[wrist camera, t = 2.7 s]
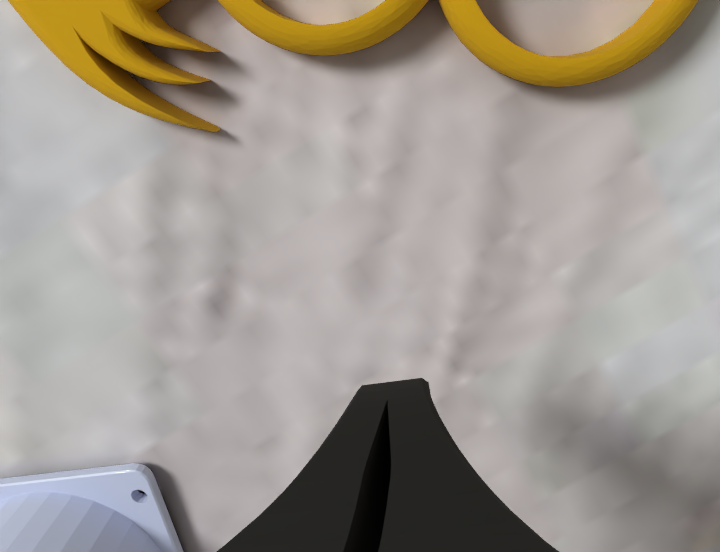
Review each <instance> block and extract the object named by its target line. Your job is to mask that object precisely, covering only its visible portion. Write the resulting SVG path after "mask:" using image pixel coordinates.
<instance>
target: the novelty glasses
mask: <svg viewBox="0 0 720 552" xmlns="http://www.w3.org/2000/svg"><path fill="white" fill-rule="evenodd" d="M8 1H9V2H10V4H11V5H12V6H13V7H14V9H15V10H16V11H17V12H18V13H19V15H20V16H21V17H22V18H23V20H24V21H25V22H26V23H27V24H28V26H29V27H30V28H31V29H32V31H33V32H34V33H35V34H36V35H37V36H38V37H39V38H40V39H41V41H42V42H43V43H44V44H45V45H46V46H47V47H48V48H49V49H50V50H51V51H52V52H53V53H54V54H55V55H56V56H57V57H58V58H59V59H60V60H61V61H62V62H63V63H64V64H65V65H66V66H67V67H68V68H69V69H70V70H71V71H72V72H74V73H75V74H76V75H77V76H79V77H80V78H81V79H82V80H83V81H85V82H86V83H87V84H89V85H90V86H92V87H93V88H95V89H96V90H98V91H99V92H101V93H102V94H104V95H105V96H107V97H108V98H110V99H112V100H114V101H116V102H118V103H120V104H122V105H124V106H126V107H128V108H130V109H133V110H135V111H137V112H140V113H143V114H145V115H148V116H151V117H154V118H157V119H160V120H163V121H167V122H171V123H175V124H179V125H183V126H187V127H191V128H196V129H202V130H207V131H212V132H217V131H219V130H221V129H220V128H219V127H217V126H215V125H213V124H211V123H209V122H206V121H204V120H202V119H200V118H198V117H196V116H194V115H192V114H190V113H188V112H186V111H184V110H182V109H180V108H178V107H176V106H174V105H172V104H171V103H169V102H167V101H166V100H164V99H162V98H160V97H159V96H157V95H155V94H154V93H152V92H151V91H149V90H148V89H147V88H145V87H144V86H142V85H141V84H140V83H138V82H137V81H136V80H134V79H133V78H132V77H131V76H130V75H129V74H128V73H127V72H126V71H128V72H131V73H133V74H135V75H137V76H139V77H142V78H145V79H149V80H152V81H155V82H161V83H166V84H178V85H183V84H196V83H201V82H205V81H210V79H206V78H203V77H200V76H197V75H194V74H192V73H189V72H186V71H183V70H181V69H178V68H176V67H174V66H172V65H170V64H168V63H166V62H164V61H163V60H161V59H159V58H158V57H156V56H155V55H154V54H153V53H151V52H150V51H149V50H148V49H147V48H146V47H145V46H144V44H143V43H142V41H141V40H143V41H145V42H148V43H151V44H154V45H158V46H163V47H168V48H175V49H185V50H195V51H204V52H217V51H219V50H217V49H215V48H213V47H211V46H209V45H207V44H205V43H203V42H201V41H198V40H196V39H194V38H192V37H190V36H187V35H185V34H183V33H181V32H179V31H177V30H175V29H173V28H172V27H170V26H169V25H168V24H166V23H165V22H164V21H163V19H162V18H161V17H160V15H159V13H158V12H157V9H159V8H161V7H162V6H164V5H165V4H166V3H167V2H169V1H170V0H8ZM218 1H219V2H220V4H221V5H222V6H223V7H224V8H225V9H226V10H227V11H228V12H229V14H230V15H231V16H232V17H234V18H235V19H236V20H237V21H238V22H239V23H240V24H241V25H242V26H244V27H245V28H246V29H248V30H249V31H250V32H252V33H253V34H255V35H256V36H258V37H260V38H261V39H263V40H265V41H267V42H269V43H271V44H273V45H276V46H278V47H281V48H283V49H286V50H290V51H293V52H297V53H302V54H309V55H322V56H325V55H339V54H345V53H351V52H355V51H358V50H362V49H365V48H367V47H370V46H372V45H375V44H377V43H379V42H381V41H383V40H385V39H386V38H388V37H389V36H391V35H392V34H394V33H396V32H397V31H399V30H400V29H401V28H403V27H404V26H405V25H406V24H407V23H408V22H409V21H411V20H412V19H413V18H414V17H415V16H416V15H417V14H418V12H419V11H420V10H421V9H422V8H423V7H424V6H425V4H426V3H427V2H428V0H385V1H384V2H383V3H381V4H380V5H379V6H377V7H376V8H375V9H373V10H371V11H369V12H367V13H366V14H364V15H362V16H360V17H358V18H355V19H352V20H349V21H346V22H341V23H337V24H328V25H312V24H306V23H302V22H298V21H296V20H293V19H291V18H288V17H286V16H283V15H281V14H280V13H278V12H277V11H275V10H274V9H272V8H271V7H269V6H267V5H266V4H265V3H264V2H263V1H262V0H218ZM438 1H439V3H440V6H441V8H442V11H443V13H444V15H445V17H446V19H447V21H448V23H449V25H450V27H451V28H452V29H453V31H454V32H455V34H456V35H457V37H458V38H459V39H460V41H461V42H462V43H463V44H464V45H465V46H466V47H467V49H468V50H469V51H470V52H471V53H472V54H473V55H475V56H476V57H477V58H478V59H479V60H480V61H482V62H483V63H485V64H486V65H488V66H489V67H491V68H492V69H494V70H496V71H498V72H499V73H501V74H504V75H506V76H508V77H511V78H513V79H516V80H519V81H523V82H526V83H530V84H534V85H541V86H553V87H562V86H574V85H582V84H587V83H591V82H595V81H598V80H602V79H605V78H607V77H610V76H612V75H615V74H617V73H619V72H621V71H623V70H625V69H627V68H629V67H631V66H633V65H634V64H636V63H637V62H639V61H640V60H642V59H643V58H645V57H647V56H648V55H649V54H651V53H652V52H653V51H654V50H655V49H657V48H658V47H659V46H660V45H661V44H663V43H664V42H665V41H666V40H667V39H668V38H669V37H670V36H671V35H672V34H673V33H674V32H675V31H676V30H677V29H678V28H679V26H680V25H681V24H682V23H683V21H684V20H685V19H686V18H687V16H688V15H689V14H690V12H691V11H692V9H693V8H694V6H695V5H696V3H697V2H698V0H654V2H653V3H652V4H651V5H650V7H649V8H648V9H647V10H646V11H645V12H644V13H643V15H642V16H641V17H640V18H639V19H638V20H637V21H636V22H635V23H634V24H633V25H632V26H631V27H630V28H628V29H627V30H626V31H624V32H623V33H622V34H620V35H619V36H618V37H616V38H615V39H613V40H612V41H610V42H608V43H606V44H604V45H601V46H599V47H597V48H595V49H593V50H591V51H588V52H584V53H579V54H574V55H570V56H551V57H548V56H542V55H538V54H535V53H533V52H530V51H527V50H525V49H523V48H521V47H519V46H517V45H515V44H513V43H512V42H511V41H509V40H508V39H507V38H505V37H504V36H503V35H501V34H500V33H499V32H498V31H497V30H496V29H495V28H494V27H493V26H492V25H491V24H490V22H489V21H488V20H487V18H486V17H485V16H484V14H483V13H482V11H481V9H480V8H479V6H478V4H477V2H476V1H475V0H438ZM140 39H141V40H140ZM125 70H126V71H125Z"/></svg>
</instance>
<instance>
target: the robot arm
mask: <svg viewBox="0 0 720 552" xmlns="http://www.w3.org/2000/svg"><path fill="white" fill-rule="evenodd" d="M138 490H142V491H143V492H145V493H146V494H142V493H141V492H139V491H138ZM0 552H183V549H182V546H181V544H180V541H179V539H178V536H177V534H176V531H175V528H174V526H173V523H172V521H171V518H170V515H169V513H168V510H167V508H166V505H165V503H164V500H163V497H162V495H161V492H160V490H159V487H158V485H157V482H156V479H155V477H154V474H153V473H152V471H151V470H150V469H149V468H148V467H147V466H145V465H142V464H137V463H132V464H123V465H115V466H106V467H97V468H89V469H80V470H71V471H62V472H54V473H45V474H36V475H28V476H19V477H10V478H2V479H0ZM217 552H559V551H557V550H556V549H555V548H553V547H552V546H551V545H549V544H548V543H547V542H546V541H544V540H543V539H542V538H541V537H540V536H539V535H538V534H536V533H535V532H534V531H533V530H532V529H531V528H530V527H529V526H527V525H526V524H525V523H524V522H523V521H522V520H521V519H520V518H519V517H517V516H516V515H515V514H514V513H513V512H512V511H511V510H510V509H509V508H508V507H507V506H506V505H505V504H504V503H503V502H502V501H501V500H500V499H499V498H498V497H497V496H496V495H495V494H494V493H493V491H492V490H491V489H490V488H489V487H488V486H487V485H486V483H485V482H484V481H483V480H482V479H481V478H480V476H479V475H478V474H477V473H476V471H475V470H474V469H473V468H472V466H471V465H470V464H469V462H468V461H467V460H466V458H465V457H464V455H463V454H462V453H461V451H460V450H459V448H458V447H457V445H456V444H455V442H454V441H453V439H452V437H451V436H450V434H449V432H448V431H447V429H446V427H445V426H444V424H443V422H442V420H441V418H440V417H439V415H438V413H437V410H436V408H435V406H434V404H433V401H432V398H431V395H430V389H429V384H428V382H427V381H425V380H424V379H423V378H418V379H410V380H402V381H394V382H386V383H378V384H370V385H362V386H361V387H360V389H359V390H358V391H357V393H356V394H355V396H354V397H353V399H352V401H351V402H350V404H349V405H348V407H347V408H346V410H345V412H344V413H343V415H342V416H341V418H340V419H339V421H338V422H337V424H336V425H335V427H334V428H333V430H332V431H331V432H330V434H329V435H328V437H327V438H326V439H325V441H324V442H323V444H322V445H321V446H320V448H319V449H318V451H317V452H316V453H315V454H314V456H313V457H312V458H311V459H310V461H309V462H308V463H307V464H306V466H305V467H304V468H303V469H302V471H301V472H300V473H299V474H298V476H297V477H296V478H295V479H294V480H293V482H292V483H291V484H290V485H289V486H288V487H287V488H286V489H285V491H284V492H283V493H282V494H281V495H280V496H279V497H278V498H277V499H276V500H275V501H274V502H273V503H272V504H271V505H270V506H269V507H268V508H267V509H266V510H265V511H264V512H263V513H261V514H260V515H259V516H258V517H257V518H256V519H255V520H254V521H252V522H251V523H250V524H249V525H248V526H247V527H245V528H244V529H243V530H242V531H241V532H240V533H238V534H237V535H236V536H235V537H234V538H233V539H232V540H230V541H229V542H228V543H227V544H226V545H225V546H223V547H222V548H221V549H219V550H218V551H217Z"/></svg>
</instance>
